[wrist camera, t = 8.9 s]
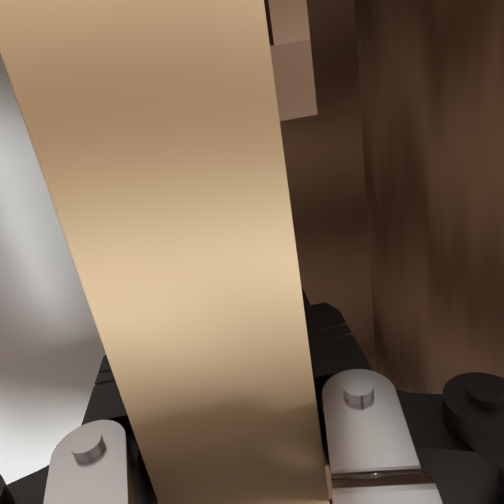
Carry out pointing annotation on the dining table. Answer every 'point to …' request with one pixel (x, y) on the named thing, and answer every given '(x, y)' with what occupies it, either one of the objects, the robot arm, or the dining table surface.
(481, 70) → the wooden pen holder stand
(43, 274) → the dining table surface
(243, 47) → the oak rail
